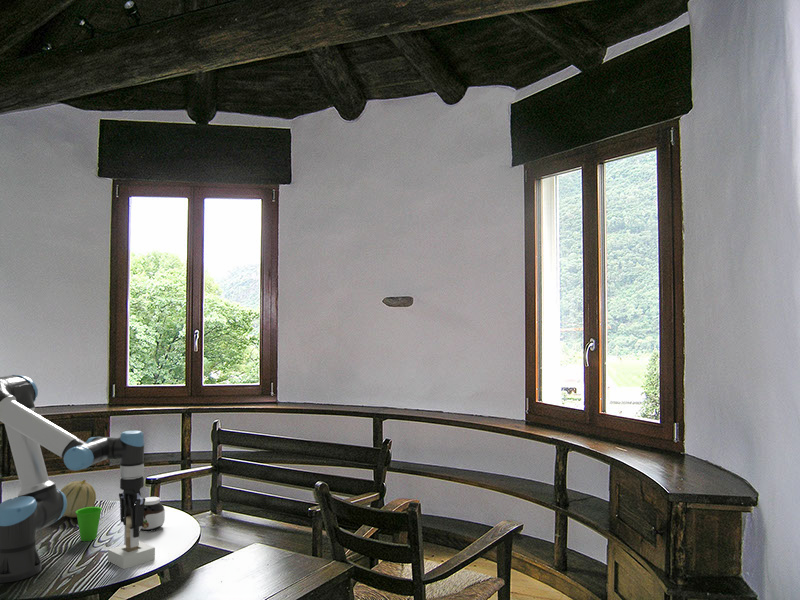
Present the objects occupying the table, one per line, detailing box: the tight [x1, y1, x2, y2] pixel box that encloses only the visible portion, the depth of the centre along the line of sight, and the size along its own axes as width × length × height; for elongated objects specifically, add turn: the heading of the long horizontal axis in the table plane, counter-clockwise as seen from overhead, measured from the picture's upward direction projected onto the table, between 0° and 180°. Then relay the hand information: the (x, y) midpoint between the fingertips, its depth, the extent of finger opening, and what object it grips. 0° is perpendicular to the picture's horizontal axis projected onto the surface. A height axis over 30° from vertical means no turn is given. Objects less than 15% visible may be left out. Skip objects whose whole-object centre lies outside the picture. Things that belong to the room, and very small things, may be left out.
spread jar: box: [139, 496, 166, 532], centre depth 248 cm, size 12×11×12 cm
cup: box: [76, 506, 103, 542], centre depth 238 cm, size 9×9×11 cm
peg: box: [126, 515, 137, 552], centre depth 218 cm, size 4×4×13 cm
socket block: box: [107, 540, 156, 570], centre depth 217 cm, size 11×11×4 cm
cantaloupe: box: [60, 479, 97, 518], centre depth 266 cm, size 15×15×15 cm
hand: (131, 545), depth 218 cm, fingers closed on peg, 3 cm apart
